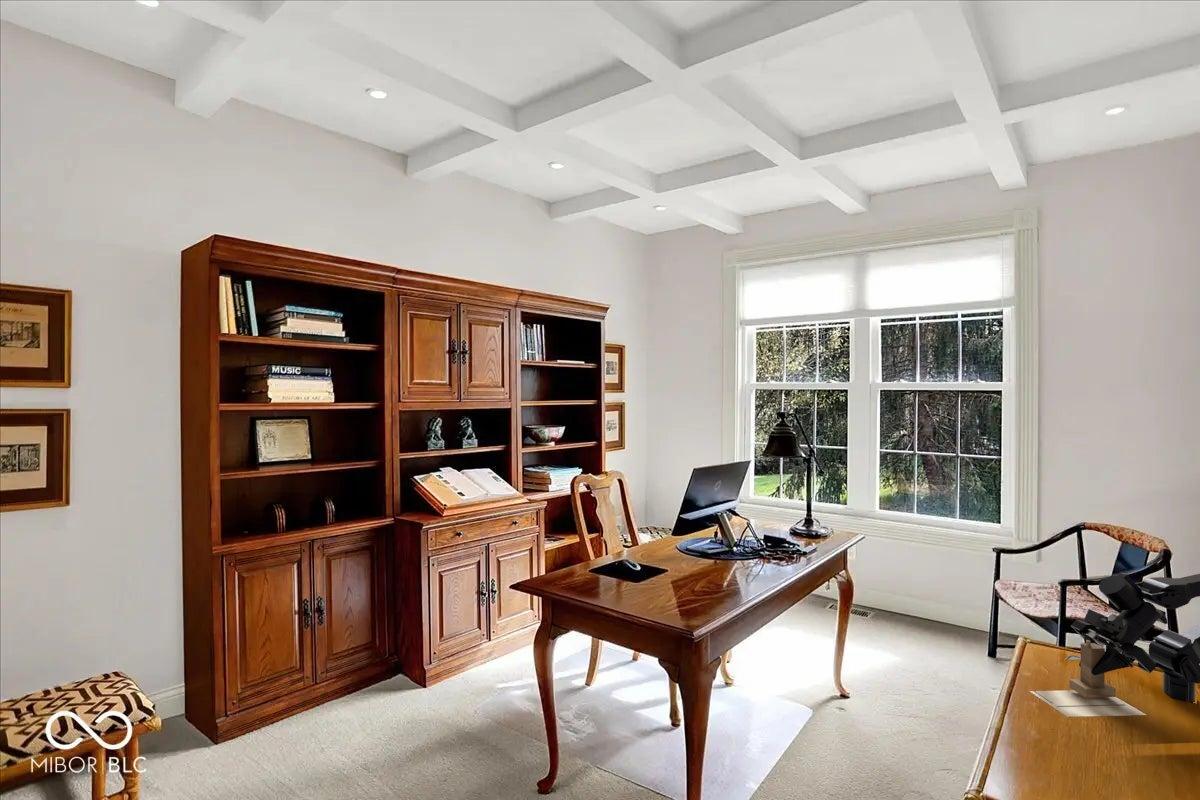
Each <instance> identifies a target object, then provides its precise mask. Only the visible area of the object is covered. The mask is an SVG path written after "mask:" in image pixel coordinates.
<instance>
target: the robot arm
mask: <svg viewBox="0 0 1200 800" xmlns="http://www.w3.org/2000/svg"><path fill="white" fill-rule="evenodd" d="M1098 590H1099V591H1100V592H1101V593H1102V594H1103V595H1104V597H1105V598H1107V600H1109V602H1110V603H1112V604H1113V606H1115V607H1116V609H1118V610H1122V611H1121V612H1120V613H1119V614H1118V615H1116V614H1115V613H1112V614H1110V615H1109V616H1107V615H1104V614H1102V613H1099V612H1098V611H1095V610H1093V609H1090V608H1088V610H1087V611H1086V614H1085V616H1084V618H1083V620H1082V619H1075V621H1073V622H1072V624H1071V625H1070V627H1071V628H1072V629H1074V631H1075V632H1076V633H1077V634H1078V635H1079V636H1080V637H1081V638H1082V639H1083V640H1084V643H1086V640H1089V641H1091V643H1095V644H1097V645H1099V646H1101V647H1103V648H1105V655H1104V656H1103V657H1102V658H1101V659H1100V660H1099V662H1098V663H1097V664H1096V665H1095V666H1094V668H1093V669H1092V671H1091V673H1092V674H1093V675H1099V674H1102V673H1108V672H1112V671H1116V670H1121V669H1125V668H1131V669H1132V668H1134V665H1133V663H1134V662H1137V665H1138V668H1139V669H1140V670H1143V671H1144V672H1146V673H1149V674H1152V672H1153V671H1154V670H1155V669H1159V670H1161V671H1162V673H1163V674H1162V677H1163V678H1162V692H1163V693H1164V694H1166V695H1168V697H1169V698H1171V699H1173V700H1178V701H1181V702H1185V703H1186V702H1189V703H1191V704H1193V702H1195V697H1196V686H1197V685H1196V684H1198V685H1199V684H1200V621H1199V622H1198V623H1196V624H1195V625H1193V626H1191V627H1190V628H1188V629H1186V630H1185V631H1183V632H1181V633H1178V632H1175V631H1172V630H1170V629H1166V630H1164V631H1162V632H1161V634H1159V635H1157V636H1154V637H1152V639H1153V640H1152V641H1151V642H1150V643H1149V644H1148V652H1147V651H1146V650H1145V649H1144V648H1142V647H1141V646H1138V645H1136V643H1138V640H1141V641H1143V642H1145V641H1146V640H1147V637H1146V636H1145V633H1146V632H1147V631H1148V630H1149V629H1150V628H1151V627H1152V626H1153V625H1154V624H1155V623H1156V622H1159V623H1161V624H1164V625H1167V624H1168V622H1169V621H1168V618H1167V615H1166V614H1167V613H1166V611H1164V610H1162V609H1159V608H1157V607H1156V605H1157V606H1160V607H1162V608H1165V609H1166V610H1176V609H1179V608H1182V607H1183V606H1187V605H1188V604H1189V603H1190V601H1191V600H1193V599H1195V598H1198V597H1199V598H1200V573H1196V574H1193V575H1188V576H1183V577H1176V578H1174V577H1165V576H1164V577H1163V576H1162V577H1161V576H1160V577H1159V576H1158V577H1147V578H1144V579H1143V580H1142V581H1140V582H1138V581H1137V582H1134V581H1133V579H1132V578H1131V577H1130V575H1128V574H1127V573H1124V572H1119V573H1118V574H1116V575H1111V576H1109V577H1106V578H1103V579H1102V580H1101V581H1100V582H1099V585H1098ZM1104 646H1105V647H1104ZM1079 660H1080V661H1079V664H1078V666H1079V668H1080V667H1081V665H1080V664H1081V659H1079Z"/></svg>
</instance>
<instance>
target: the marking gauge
mask: <svg viewBox="0 0 1200 800" xmlns="http://www.w3.org/2000/svg"><path fill="white" fill-rule="evenodd" d="M1105 652H1106V647H1101V646H1099V645H1097V644H1095V643H1091V641H1089V640H1086V643H1085V642H1081V643H1080V657H1081V659H1080V660H1081V664H1080V665H1081V667H1080V666H1079V668H1080V676H1079V677H1080V678H1077V679H1076V678H1074V679H1073V678H1072V679H1071V678H1070V679H1069V689H1070V690H1074V691H1076V692H1078V693H1079V694H1081V695H1082V696H1084V697H1086V698H1095V697H1117V696H1116V692H1117V691H1116V690H1117V689H1116V687H1114V686H1112V685H1111V684H1109V683H1107V682H1105V679H1106V678H1105V677H1106V676H1105V673H1102V674H1099V675H1093V674H1092V673H1091V671H1092V669H1093V668H1094V666H1095V665H1096V664H1097V663H1098V662H1099V660H1100V659H1101V658H1102V657H1103V656H1104V655H1105Z"/></svg>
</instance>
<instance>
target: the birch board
mask: <svg viewBox="0 0 1200 800" xmlns="http://www.w3.org/2000/svg"><path fill="white" fill-rule="evenodd" d="M1029 693H1031V694H1033V695H1034V696H1036V697H1037V698H1039V699H1040V700H1041V701H1043V702H1045V703H1046V704H1048V705H1049V706H1051V707H1052V708H1053V709H1055V710H1056V711H1058V712H1060V714H1062V715H1063V716H1065V717H1067V718H1078V717H1079V718H1081V717H1082V718H1083V717H1086V718H1088V717H1120V716H1121V717H1126V716H1127V717H1128V716H1147V714H1146V713H1144V712H1142V711H1141V710H1139V709H1137V708H1136V707H1134V706H1132V705H1130V704H1128V703H1127V702H1125V701H1124V700H1122V699H1120V698H1118V697H1117V696H1116V697H1095V698H1086V697H1084V696H1082V695H1081V694H1079V693H1078V692H1076V691H1074V690H1073V689H1069V690H1064V689H1063V690H1029Z"/></svg>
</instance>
